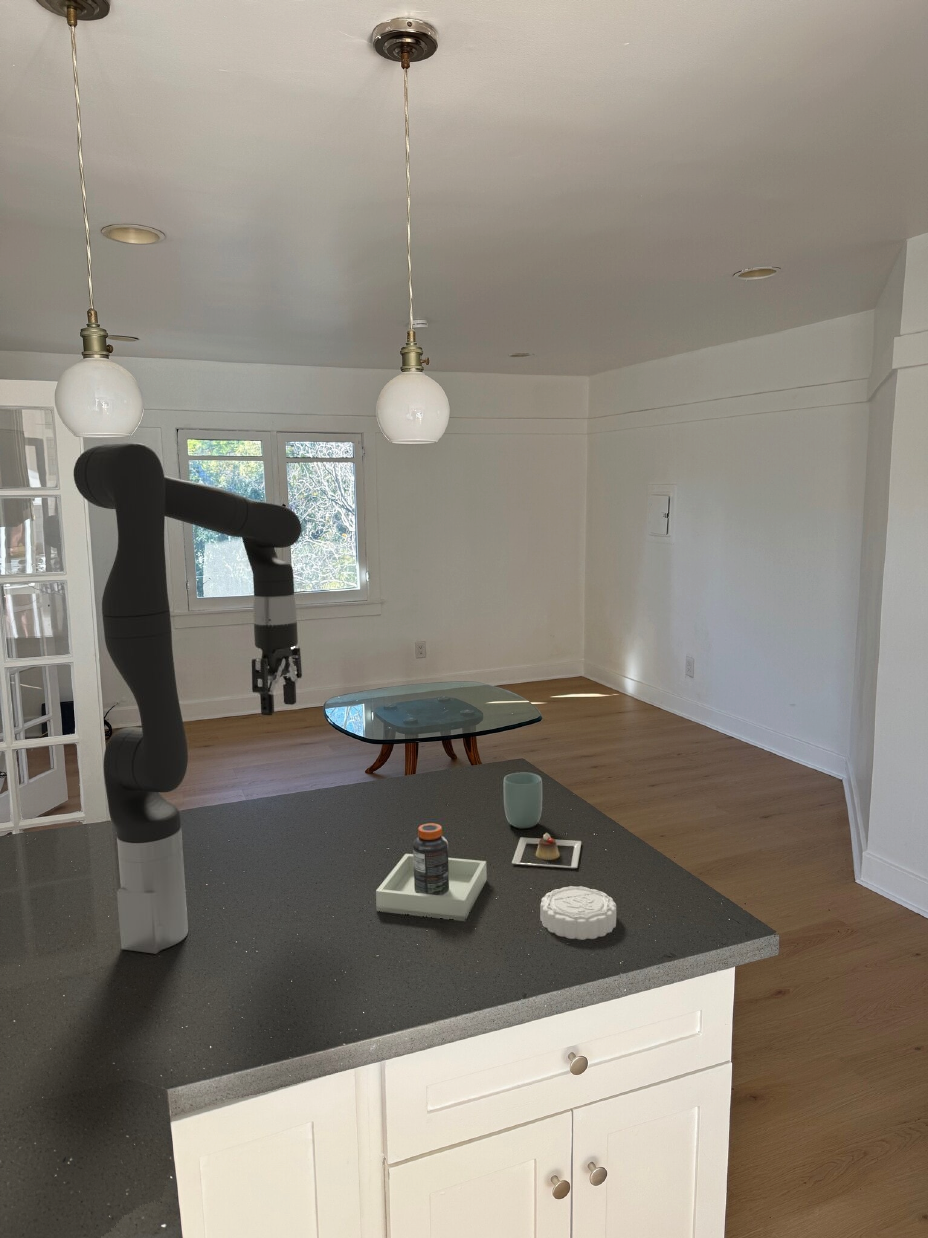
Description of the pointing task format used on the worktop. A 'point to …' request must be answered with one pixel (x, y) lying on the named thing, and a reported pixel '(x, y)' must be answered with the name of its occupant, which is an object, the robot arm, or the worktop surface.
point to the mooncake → (578, 912)
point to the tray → (452, 905)
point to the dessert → (547, 850)
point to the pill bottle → (431, 861)
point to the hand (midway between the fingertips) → (279, 709)
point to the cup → (523, 799)
